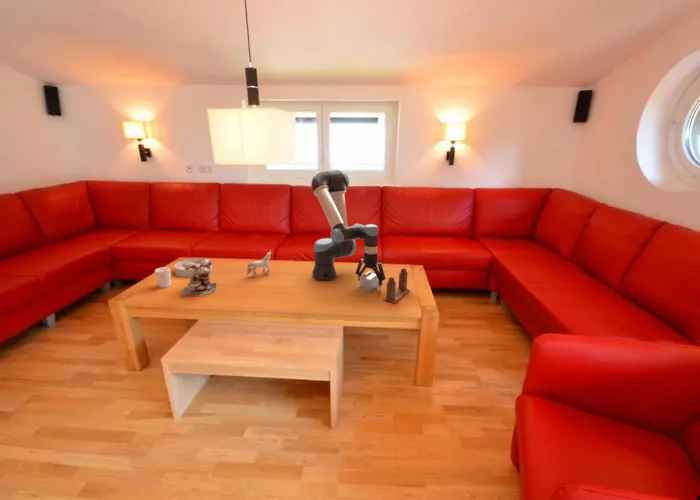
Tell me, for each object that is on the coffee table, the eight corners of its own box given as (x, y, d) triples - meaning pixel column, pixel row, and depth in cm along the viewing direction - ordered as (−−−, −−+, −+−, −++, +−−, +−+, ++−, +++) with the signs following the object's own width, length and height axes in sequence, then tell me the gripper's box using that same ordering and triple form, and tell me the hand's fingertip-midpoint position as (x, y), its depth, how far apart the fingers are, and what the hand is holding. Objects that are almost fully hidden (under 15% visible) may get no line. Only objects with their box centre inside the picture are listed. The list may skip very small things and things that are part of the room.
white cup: (167, 281, 215) (164, 266, 212) (175, 284, 211) (172, 268, 208) (154, 286, 209) (151, 270, 206) (162, 289, 205) (160, 273, 202)
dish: (217, 271, 233) (216, 263, 231) (182, 280, 218) (181, 272, 217) (203, 262, 248) (202, 255, 246) (170, 270, 233) (168, 263, 232)
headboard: (383, 300, 193) (384, 277, 189) (398, 288, 208) (399, 266, 204) (395, 303, 189) (396, 279, 185) (409, 290, 205) (410, 268, 200)
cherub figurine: (179, 297, 195) (174, 267, 189) (185, 284, 212) (181, 256, 206) (214, 294, 199) (210, 264, 193) (217, 282, 215) (214, 253, 210)
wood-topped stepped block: (362, 290, 205) (362, 275, 202) (369, 285, 212) (370, 270, 209) (369, 292, 202) (370, 277, 200) (377, 287, 210) (377, 272, 207)
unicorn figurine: (278, 271, 232) (277, 252, 228) (252, 280, 218) (251, 259, 214) (272, 268, 236) (270, 249, 232) (246, 277, 223) (244, 256, 218)
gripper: (349, 250, 203) (349, 286, 210) (386, 258, 191) (385, 295, 198) (356, 247, 209) (355, 281, 216) (392, 254, 198) (391, 290, 204)
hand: (369, 288), depth 207 cm, fingers open, 11 cm apart
